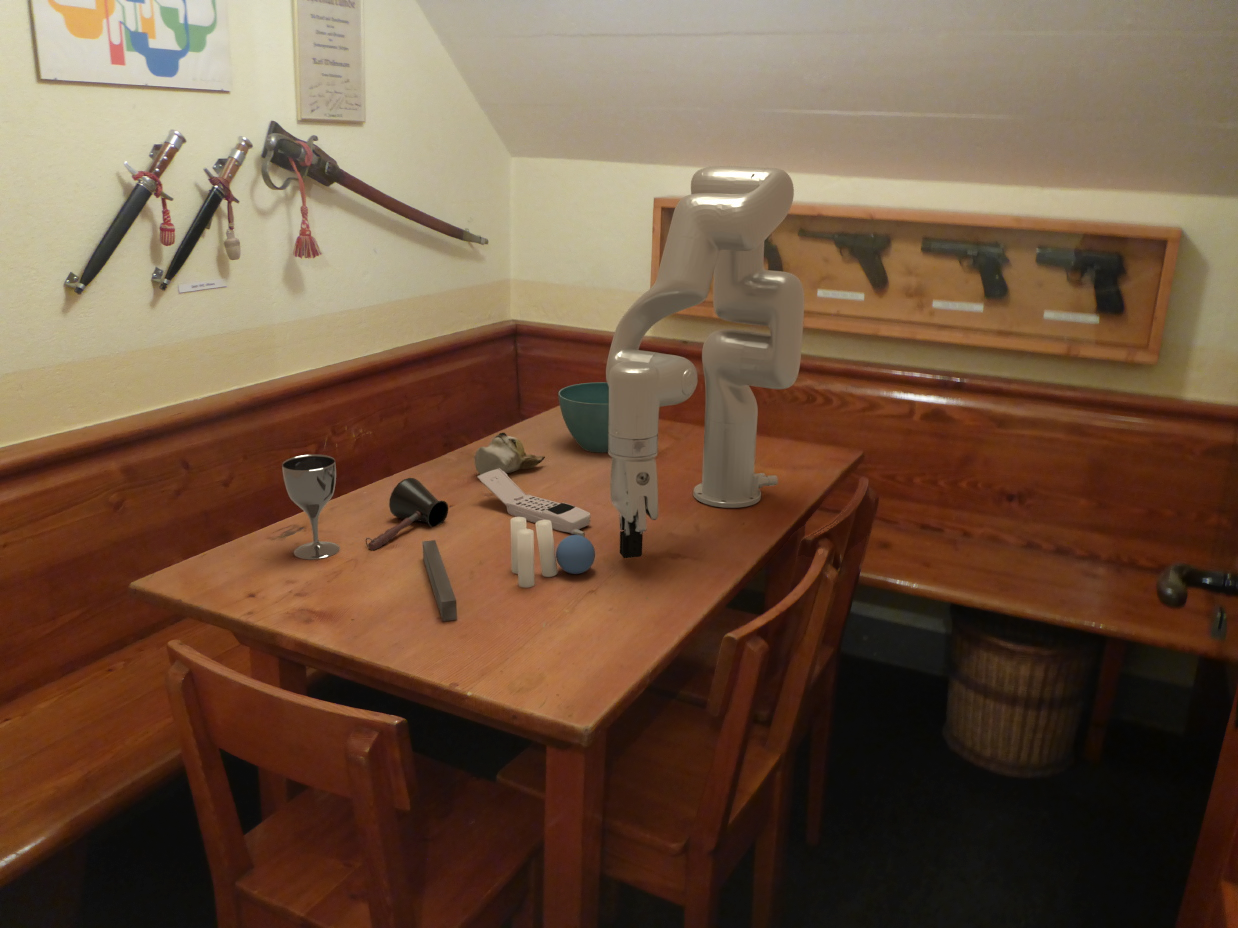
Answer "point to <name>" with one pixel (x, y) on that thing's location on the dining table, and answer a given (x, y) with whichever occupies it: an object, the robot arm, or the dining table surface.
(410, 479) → the coffee pot
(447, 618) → the back wall
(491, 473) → the mobile phone
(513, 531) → the pin
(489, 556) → the dining table surface
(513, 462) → the ceramic sculpture
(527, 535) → the pin
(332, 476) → the silver goblet
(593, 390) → the teal bowl
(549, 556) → the front pin
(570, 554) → the ball
